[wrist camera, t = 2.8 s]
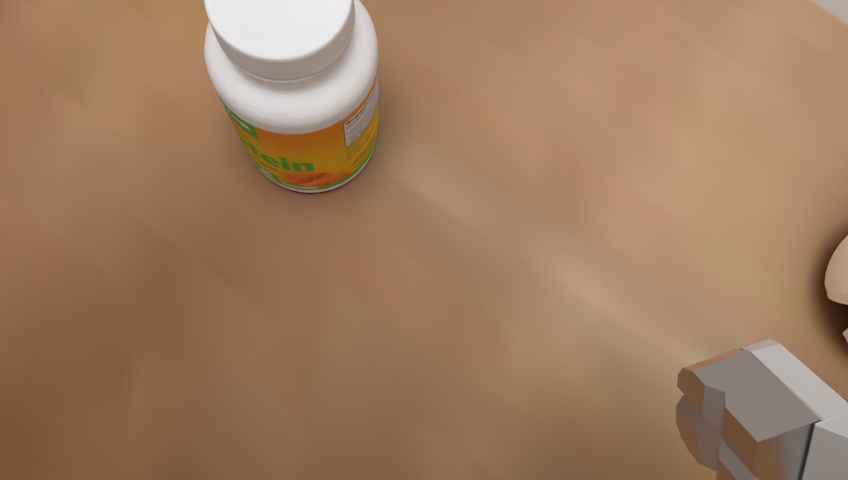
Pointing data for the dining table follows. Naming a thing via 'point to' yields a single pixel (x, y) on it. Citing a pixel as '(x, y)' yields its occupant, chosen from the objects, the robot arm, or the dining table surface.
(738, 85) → the dining table surface
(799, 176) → the dining table surface
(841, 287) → the water bottle
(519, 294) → the dining table surface
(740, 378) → the robot arm
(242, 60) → the supplement bottle
